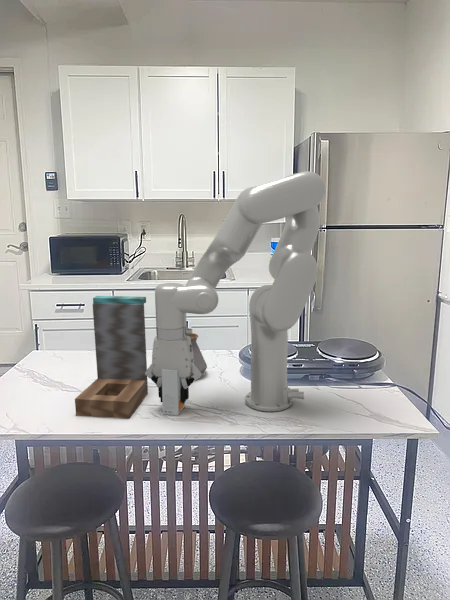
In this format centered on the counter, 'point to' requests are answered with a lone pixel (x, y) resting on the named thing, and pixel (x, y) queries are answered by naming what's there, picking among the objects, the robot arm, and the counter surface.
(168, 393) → the skincare box
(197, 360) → the coffee pot
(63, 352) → the counter surface
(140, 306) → the socket station
